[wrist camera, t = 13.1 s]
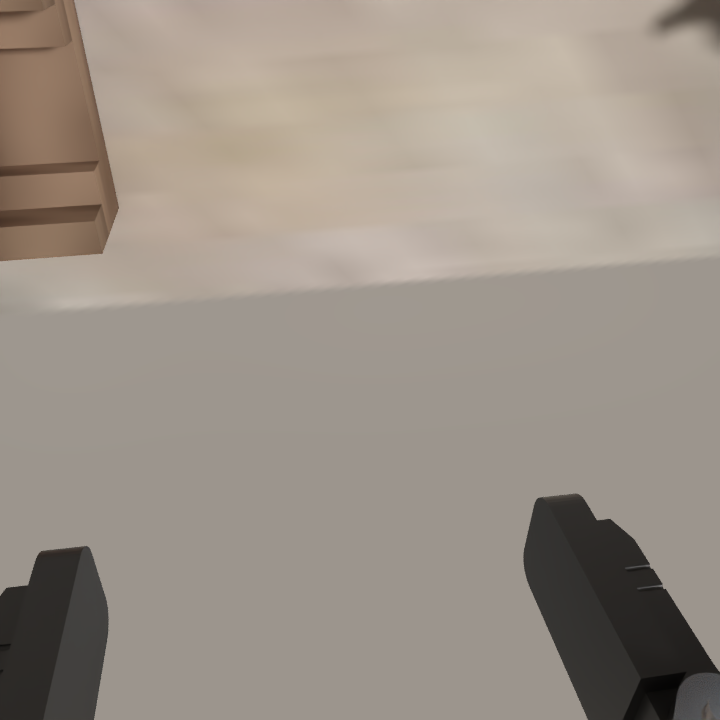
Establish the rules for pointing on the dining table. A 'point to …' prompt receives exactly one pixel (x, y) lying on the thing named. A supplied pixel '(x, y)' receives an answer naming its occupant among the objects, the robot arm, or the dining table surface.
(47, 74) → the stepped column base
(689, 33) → the dining table surface
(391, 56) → the dining table surface
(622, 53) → the dining table surface
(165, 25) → the dining table surface
